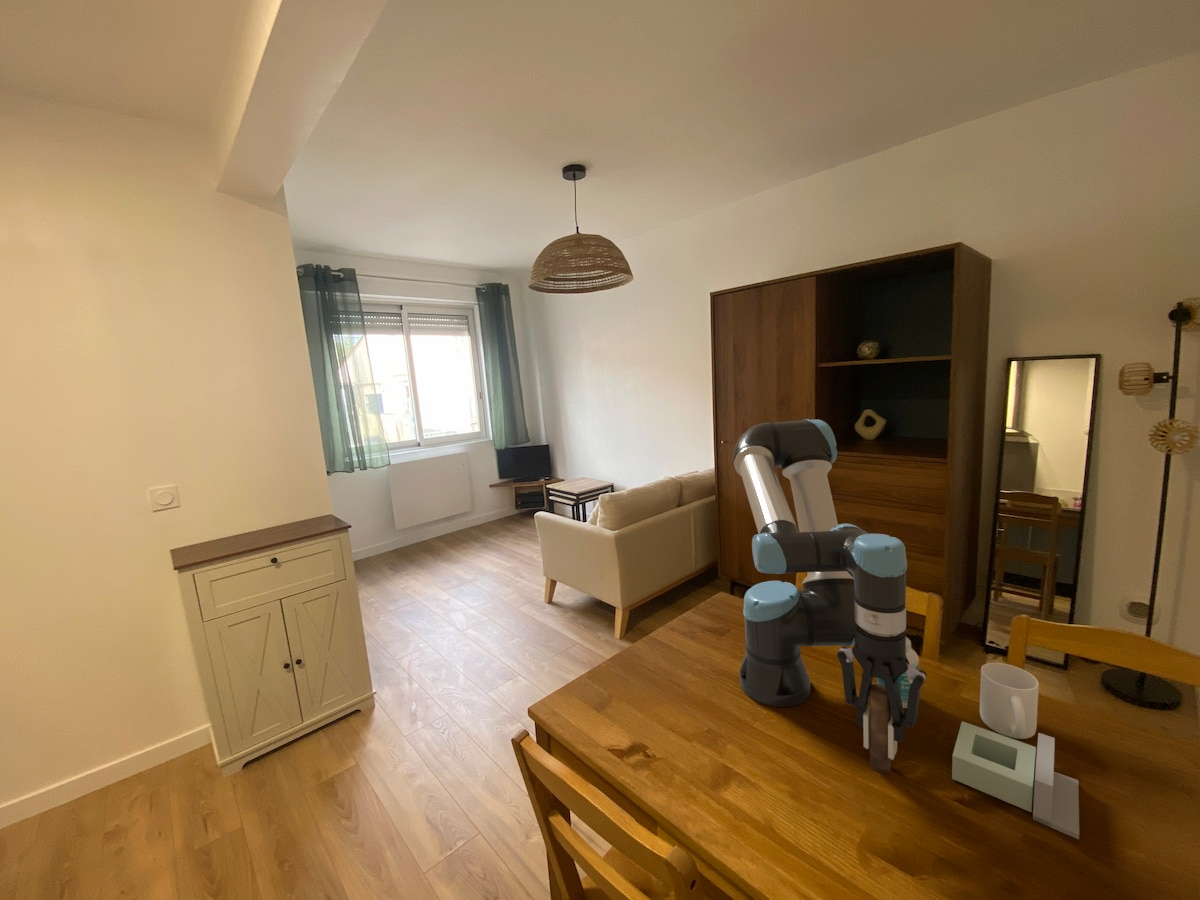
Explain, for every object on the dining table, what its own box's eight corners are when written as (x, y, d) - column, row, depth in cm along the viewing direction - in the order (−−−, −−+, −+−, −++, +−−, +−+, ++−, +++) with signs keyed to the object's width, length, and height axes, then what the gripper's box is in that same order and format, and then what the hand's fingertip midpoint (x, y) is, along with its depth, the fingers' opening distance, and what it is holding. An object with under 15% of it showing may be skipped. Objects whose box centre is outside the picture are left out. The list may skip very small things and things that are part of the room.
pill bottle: (907, 715, 95) (907, 654, 93) (870, 696, 102) (869, 638, 100) (925, 699, 99) (925, 640, 97) (888, 682, 106) (888, 626, 104)
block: (951, 778, 80) (952, 755, 80) (961, 742, 87) (961, 721, 87) (1031, 812, 73) (1032, 787, 73) (1034, 770, 80) (1036, 747, 80)
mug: (1050, 761, 82) (1053, 708, 81) (990, 747, 86) (991, 696, 85) (1028, 715, 93) (1030, 667, 91) (975, 705, 97) (976, 658, 95)
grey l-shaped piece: (1032, 819, 73) (1034, 779, 72) (1036, 769, 81) (1038, 732, 80) (1079, 839, 69) (1081, 797, 68) (1077, 784, 77) (1080, 746, 76)
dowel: (867, 767, 84) (866, 691, 82) (872, 756, 87) (872, 681, 84) (888, 776, 82) (887, 698, 80) (892, 764, 84) (892, 688, 82)
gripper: (821, 621, 83) (824, 740, 87) (932, 652, 72) (930, 787, 76) (836, 604, 89) (838, 716, 92) (941, 631, 77) (939, 757, 81)
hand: (880, 748), depth 84 cm, fingers closed on dowel, 3 cm apart
